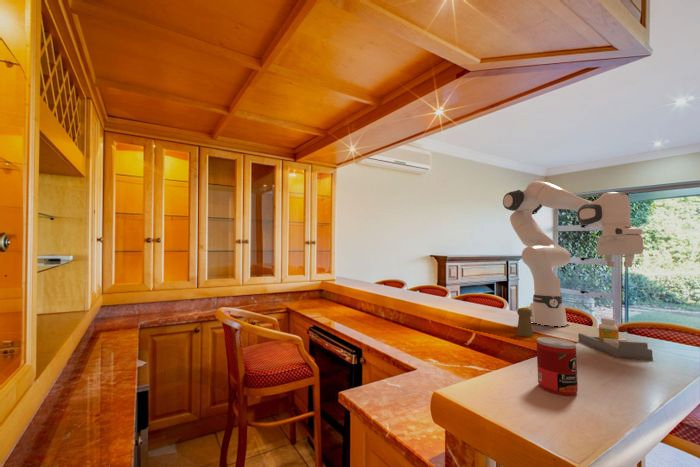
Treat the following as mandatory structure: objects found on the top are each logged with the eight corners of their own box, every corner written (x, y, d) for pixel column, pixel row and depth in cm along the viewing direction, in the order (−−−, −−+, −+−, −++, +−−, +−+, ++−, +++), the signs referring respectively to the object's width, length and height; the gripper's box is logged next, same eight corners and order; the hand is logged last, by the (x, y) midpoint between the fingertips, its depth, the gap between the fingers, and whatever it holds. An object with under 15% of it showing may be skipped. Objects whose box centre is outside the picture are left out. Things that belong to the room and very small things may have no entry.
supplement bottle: (601, 347, 108) (600, 319, 109) (597, 343, 113) (596, 316, 114) (621, 349, 105) (619, 320, 106) (616, 346, 110) (615, 318, 111)
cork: (514, 335, 127) (514, 308, 128) (519, 332, 131) (518, 306, 132) (531, 337, 123) (530, 309, 124) (535, 335, 127) (534, 308, 128)
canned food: (564, 398, 67) (562, 346, 68) (530, 385, 74) (528, 338, 75) (586, 393, 70) (583, 343, 71) (551, 380, 77) (549, 335, 78)
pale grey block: (604, 347, 107) (603, 338, 107) (625, 348, 106) (624, 339, 106) (611, 350, 103) (610, 340, 104) (632, 351, 103) (632, 341, 103)
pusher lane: (578, 341, 119) (578, 327, 119) (606, 342, 117) (606, 329, 118) (617, 357, 98) (617, 341, 98) (652, 359, 97) (651, 343, 97)
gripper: (591, 234, 133) (593, 266, 132) (627, 229, 113) (629, 266, 112) (607, 234, 132) (609, 266, 131) (646, 229, 112) (649, 267, 111)
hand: (619, 266), depth 121 cm, fingers open, 8 cm apart
